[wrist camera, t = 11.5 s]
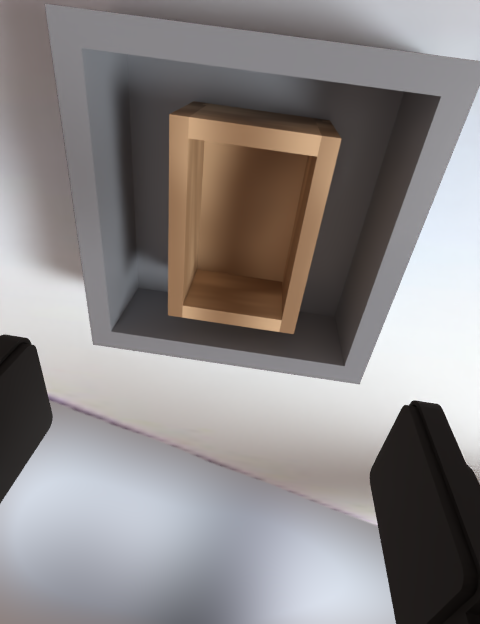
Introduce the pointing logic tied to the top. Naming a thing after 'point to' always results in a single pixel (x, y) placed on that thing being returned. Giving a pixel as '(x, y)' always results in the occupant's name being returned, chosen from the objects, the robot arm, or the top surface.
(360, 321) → the grey open box
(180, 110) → the box
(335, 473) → the top surface
